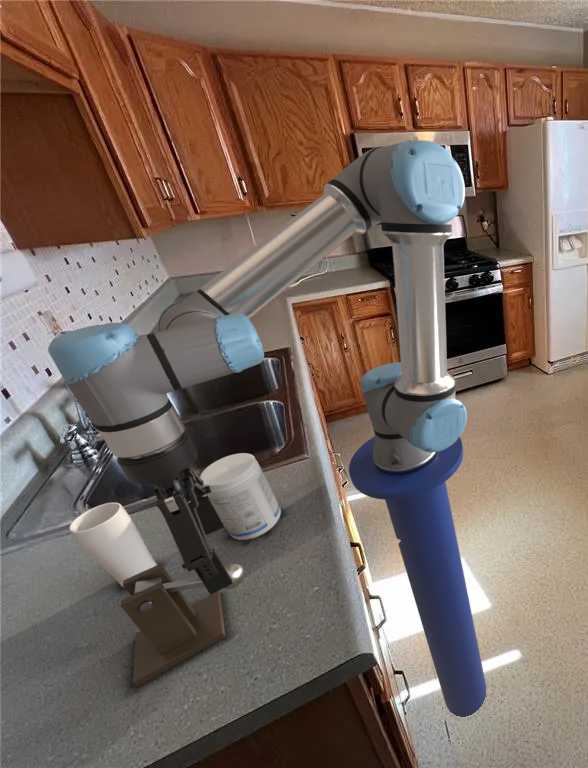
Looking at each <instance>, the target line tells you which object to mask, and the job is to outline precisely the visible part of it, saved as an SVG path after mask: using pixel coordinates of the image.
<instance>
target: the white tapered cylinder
mask: <svg viewBox="0 0 588 768" xmlns="http://www.w3.org/2000/svg"><path fill="white" fill-rule="evenodd" d="M68 530H69V532H70V534H71V535H72V536H73V538H74V539H75V541H76V542H77V543H78V544H79V545H80V547H81V548H82V549H83V550H84V551H85V552H86V553H87V554H88V555H89V556H90V557H91V558H92V559H93V560H95V561H96V562H97V564H98V565H100V566H101V567H102V568H103V569H104V570H105V571H106V572H108V574H110V575H111V577H113V578H114V580H115V581H116V582H117V583H118V584H119V585H120V587H122V588H124V589H125V587H124V586H123V581H124V580H126V579H128V578H130V577H132V576H134V575H137V574H139V573H141V572H143V571H145V570H148V569H150V568H152V567H154V566H156V565H158V563H157V562H156V560H155V559H154V558H153V556H152V554H151V553H150V550H149V548H148V547H147V545H146V542H145V541H144V539H143V537H142V535H141V533H140V531H139V529H138V527H137V525H136V524H135V522H134V520H133V518H132V517H131V516H130V514H129V512H127V510H126V509H125V508H124V507H123V505H122V504H121V503H119V502H113V501H112V502H106V503H103V504H100V505H97V506H95V507H92V508H89V509H88V510H86V511H84V512H83V513H81V514H80V515H79V516H77V517H76V518H75V519H74V520H73V521H72V522H71V523H70V525H69V527H68Z"/></svg>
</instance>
